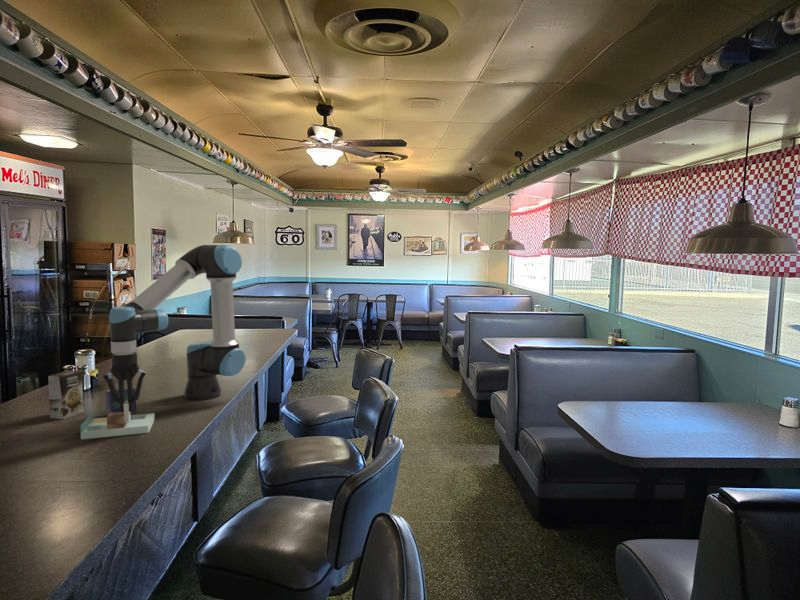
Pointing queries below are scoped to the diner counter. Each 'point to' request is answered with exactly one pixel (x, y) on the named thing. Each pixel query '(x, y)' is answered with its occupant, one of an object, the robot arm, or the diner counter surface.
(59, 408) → the coffee box
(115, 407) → the flask
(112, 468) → the diner counter surface
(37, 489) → the diner counter surface
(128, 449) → the diner counter surface
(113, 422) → the walnut block
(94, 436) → the board
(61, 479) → the diner counter surface
